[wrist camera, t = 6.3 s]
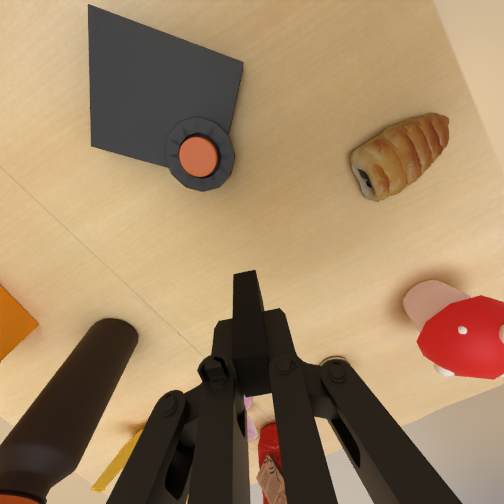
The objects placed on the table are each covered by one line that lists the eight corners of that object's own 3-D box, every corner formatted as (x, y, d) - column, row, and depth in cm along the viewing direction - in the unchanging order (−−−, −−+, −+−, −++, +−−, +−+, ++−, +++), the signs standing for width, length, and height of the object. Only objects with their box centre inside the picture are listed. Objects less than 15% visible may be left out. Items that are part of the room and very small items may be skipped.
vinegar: (147, 331, 34) (49, 542, 16) (126, 356, 36) (20, 567, 19) (102, 310, 32) (-67, 528, 14) (83, 338, 34) (-85, 558, 16)
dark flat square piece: (254, 72, 21) (257, 61, 18) (226, 190, 26) (225, 197, 22) (101, 15, 19) (73, -9, 15) (101, 156, 23) (80, 159, 20)
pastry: (426, 93, 22) (460, 86, 19) (444, 153, 25) (476, 156, 22) (341, 155, 25) (358, 159, 21) (366, 204, 27) (384, 214, 24)
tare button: (221, 143, 21) (220, 143, 19) (214, 178, 22) (212, 181, 20) (185, 132, 20) (181, 131, 19) (180, 169, 21) (176, 171, 20)
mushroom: (428, 330, 38) (504, 407, 27) (372, 316, 36) (430, 394, 25) (475, 278, 33) (588, 346, 23) (414, 259, 31) (507, 323, 20)
